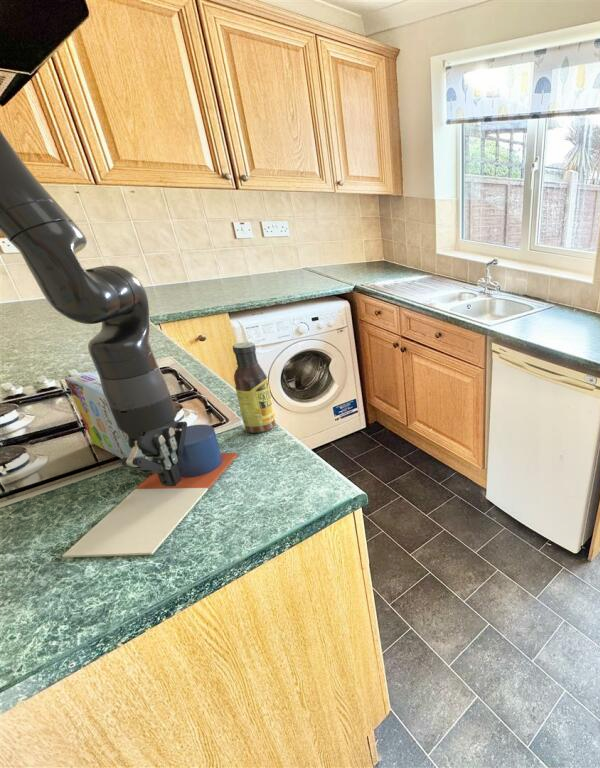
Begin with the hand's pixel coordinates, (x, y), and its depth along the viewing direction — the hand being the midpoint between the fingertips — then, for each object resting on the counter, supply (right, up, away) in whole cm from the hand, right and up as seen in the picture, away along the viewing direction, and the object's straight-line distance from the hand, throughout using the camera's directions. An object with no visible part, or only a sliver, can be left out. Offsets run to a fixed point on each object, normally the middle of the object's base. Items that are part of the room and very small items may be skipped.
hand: (172, 483), depth 74 cm
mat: (-1, -2, -1) cm, 3 cm away
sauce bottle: (+3, +8, +22) cm, 23 cm away
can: (-1, +2, +7) cm, 8 cm away
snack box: (-16, +4, +10) cm, 20 cm away
